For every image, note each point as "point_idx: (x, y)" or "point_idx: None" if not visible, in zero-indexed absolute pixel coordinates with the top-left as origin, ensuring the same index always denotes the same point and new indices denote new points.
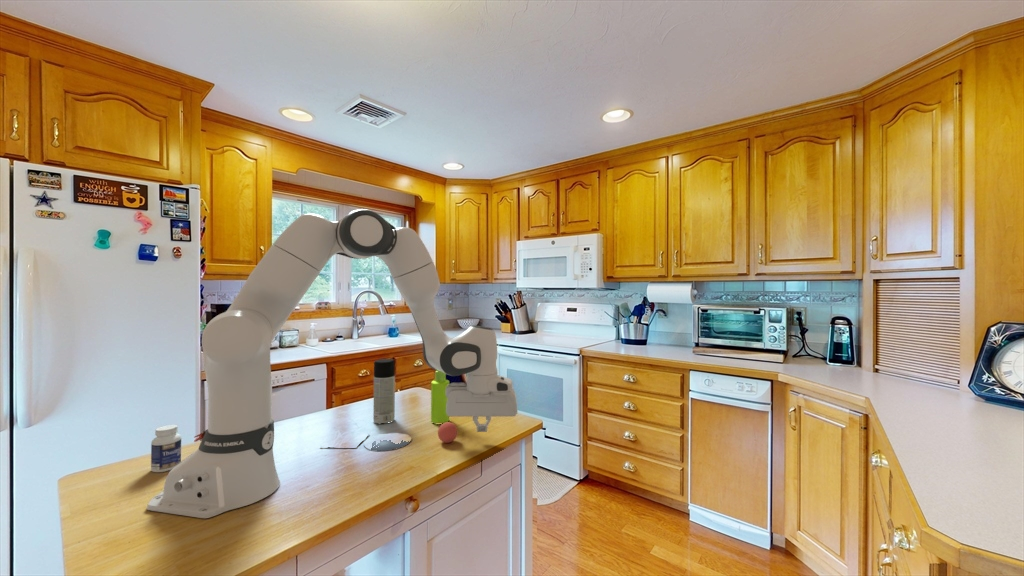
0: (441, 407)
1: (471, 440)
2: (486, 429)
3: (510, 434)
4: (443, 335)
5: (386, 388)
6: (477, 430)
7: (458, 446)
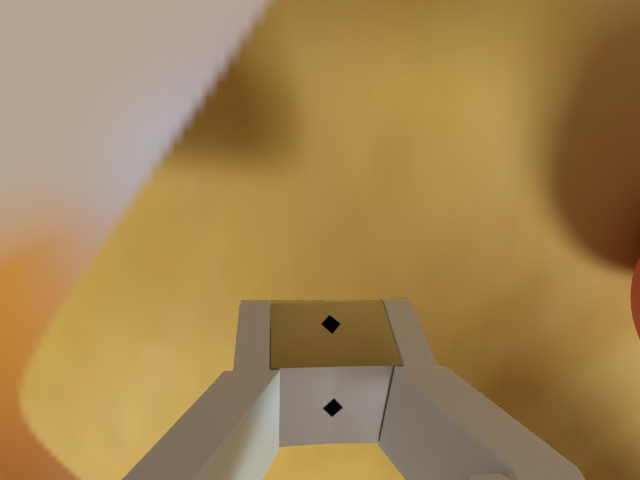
0: None
1: (430, 277)
2: (246, 320)
3: (31, 409)
4: None
5: None
6: (402, 309)
7: (606, 119)
